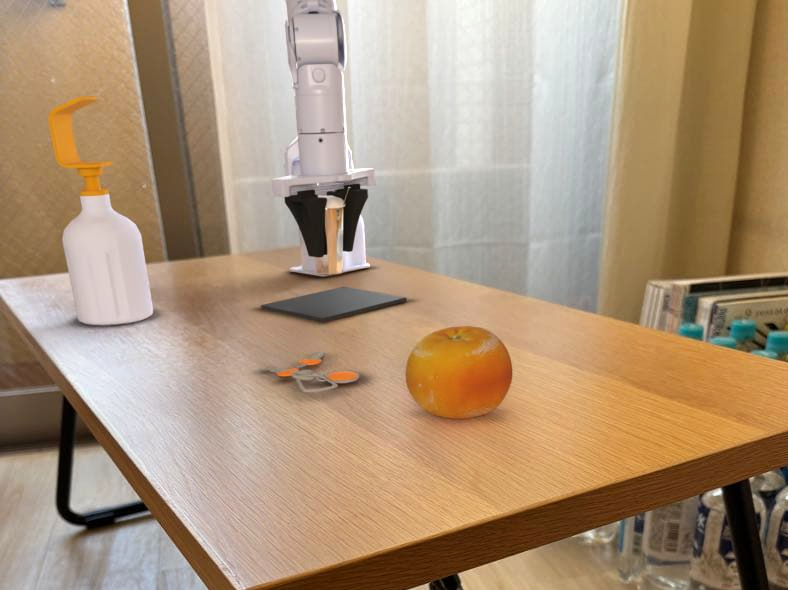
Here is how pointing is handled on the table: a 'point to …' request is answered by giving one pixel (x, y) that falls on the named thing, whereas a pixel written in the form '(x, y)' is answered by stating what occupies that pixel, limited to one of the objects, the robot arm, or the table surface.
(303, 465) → the table surface
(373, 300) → the mat
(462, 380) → the fruit
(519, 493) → the table surface
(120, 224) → the soap bottle
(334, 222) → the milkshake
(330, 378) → the key chain
